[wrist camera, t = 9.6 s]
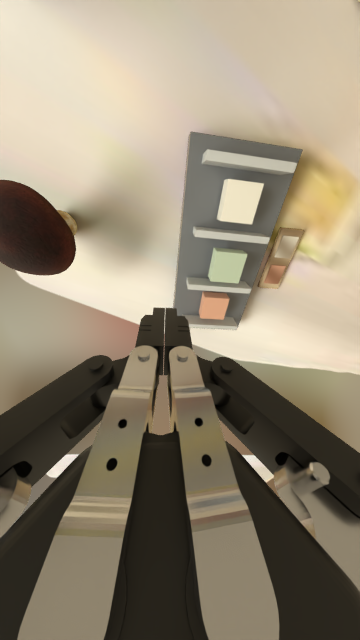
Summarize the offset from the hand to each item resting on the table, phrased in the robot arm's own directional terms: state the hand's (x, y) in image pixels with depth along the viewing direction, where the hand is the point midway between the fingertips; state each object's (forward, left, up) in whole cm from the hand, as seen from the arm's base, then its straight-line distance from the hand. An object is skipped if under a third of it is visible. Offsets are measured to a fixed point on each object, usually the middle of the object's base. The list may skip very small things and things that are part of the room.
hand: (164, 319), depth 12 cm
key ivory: (-7, +10, -25) cm, 28 cm away
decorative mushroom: (-1, -18, -27) cm, 32 cm away
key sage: (+2, +10, -23) cm, 26 cm away
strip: (+2, +23, -27) cm, 35 cm away
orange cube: (+11, +10, -25) cm, 29 cm away
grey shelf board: (+2, +10, -27) cm, 29 cm away
